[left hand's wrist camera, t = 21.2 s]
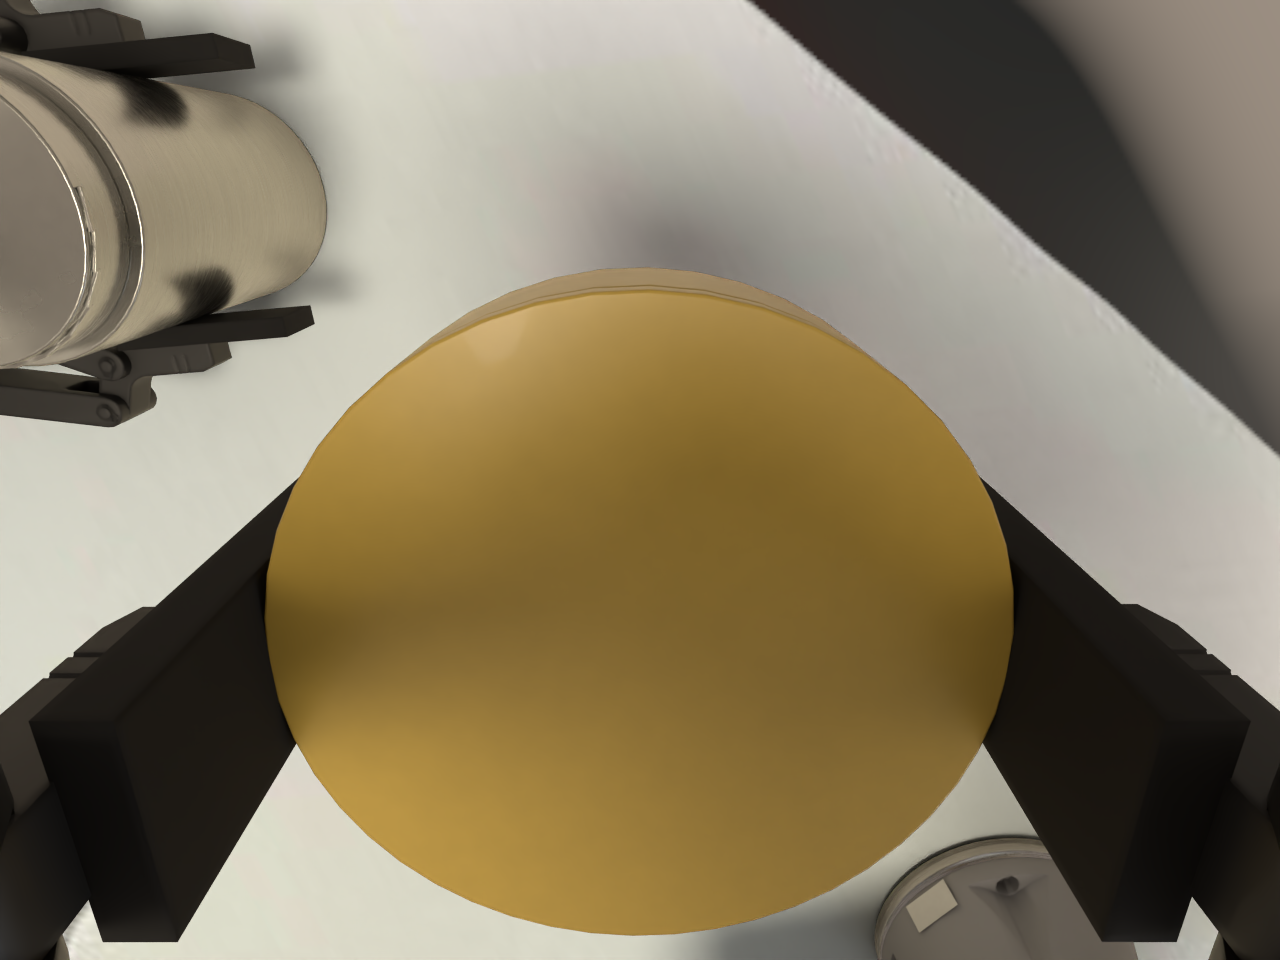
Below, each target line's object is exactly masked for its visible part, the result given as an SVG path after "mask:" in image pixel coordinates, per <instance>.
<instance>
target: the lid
mask: <svg viewBox="0 0 1280 960" xmlns="http://www.w3.org/2000/svg"><path fill="white" fill-rule="evenodd" d="M264 619H265V629H266V640H267V646H268V652H269V657H270V663H271V667H272V672H273V677H274V682H275V687H276V691H277V696H278V701H279V703H280V706H281V708H282V711H283V713H284V716H285V718H286V721H287V723H288V725H289V728H290V730H291V733H292V735H293V738H294V740H295V742H296V743H297V745H298V747H299V748H300V750H301V752H302V754H303V755H304V757H305V759H306V761H307V762H308V764H309V766H310V767H311V769H312V771H313V773H314V774H315V776H316V777H317V778H318V780H319V781H320V782H321V783H322V785H323V786H324V787H325V789H326V790H327V791H328V793H329V794H330V795H331V797H332V798H333V799H334V800H335V802H336V803H337V804H338V806H339V807H340V808H341V809H342V810H343V811H344V812H345V813H346V814H347V815H348V816H349V817H350V818H351V819H352V820H353V821H354V822H355V823H356V824H357V825H358V826H359V827H360V828H361V829H362V830H363V831H364V832H365V833H366V834H367V835H368V836H369V837H370V838H371V839H373V840H374V841H375V842H376V843H378V844H379V845H380V846H381V847H383V848H384V849H385V850H386V851H388V852H389V853H390V854H391V855H393V856H394V857H395V858H396V859H398V860H399V861H400V862H402V863H403V864H405V865H406V866H408V867H409V868H411V869H413V870H414V871H416V872H417V873H419V874H421V875H422V876H424V877H425V878H427V879H428V880H430V881H432V882H433V883H435V884H437V885H439V886H441V887H443V888H445V889H447V890H449V891H451V892H453V893H455V894H457V895H459V896H461V897H463V898H465V899H467V900H469V901H471V902H474V903H477V904H479V905H482V906H485V907H487V908H490V909H493V910H495V911H498V912H501V913H504V914H506V915H509V916H512V917H516V918H520V919H524V920H528V921H531V922H535V923H539V924H543V925H547V926H551V927H557V928H563V929H569V930H576V931H582V932H588V933H599V934H615V935H631V936H636V935H667V934H680V933H688V932H695V931H703V930H711V929H717V928H722V927H726V926H730V925H735V924H739V923H744V922H748V921H752V920H756V919H759V918H762V917H765V916H768V915H771V914H774V913H777V912H780V911H783V910H786V909H789V908H792V907H795V906H797V905H799V904H802V903H804V902H806V901H808V900H811V899H813V898H815V897H817V896H819V895H822V894H824V893H826V892H828V891H830V890H833V889H834V888H836V887H838V886H839V885H841V884H843V883H845V882H846V881H848V880H850V879H851V878H853V877H855V876H856V875H858V874H860V873H862V872H863V871H865V870H867V869H868V868H870V867H871V866H872V865H874V864H875V863H876V862H878V861H879V860H880V859H882V858H883V857H884V856H886V855H887V854H888V853H890V852H891V851H893V850H894V849H895V848H897V847H898V846H899V845H901V844H902V843H903V842H904V841H905V840H906V839H907V838H908V837H909V836H910V835H911V834H912V833H913V832H914V831H915V830H917V829H918V828H919V827H920V826H921V825H922V824H923V823H924V822H925V821H926V820H927V819H928V818H929V817H930V816H931V815H932V814H933V813H934V812H935V810H936V809H937V808H938V807H939V806H940V804H941V803H942V802H943V801H944V800H945V798H946V797H947V796H948V795H949V794H950V792H951V791H952V790H953V789H954V788H955V786H956V785H957V784H958V782H959V781H960V779H961V777H962V776H963V774H964V773H965V771H966V770H967V768H968V766H969V765H970V763H971V762H972V760H973V759H974V757H975V756H976V754H977V752H978V751H979V749H980V746H981V744H982V742H983V740H984V738H985V736H986V734H987V731H988V729H989V727H990V725H991V723H992V721H993V718H994V716H995V714H996V711H997V708H998V704H999V701H1000V698H1001V695H1002V691H1003V686H1004V682H1005V677H1006V673H1007V667H1008V662H1009V656H1010V651H1011V646H1012V640H1013V634H1014V592H1013V583H1012V576H1011V570H1010V564H1009V558H1008V552H1007V546H1006V542H1005V539H1004V536H1003V533H1002V530H1001V527H1000V524H999V521H998V518H997V515H996V512H995V509H994V506H993V503H992V501H991V499H990V497H989V495H988V493H987V491H986V489H985V487H984V485H983V483H982V481H981V479H980V478H979V476H978V474H977V472H976V470H975V468H974V466H973V464H972V462H971V460H970V459H969V457H968V456H967V455H966V453H965V452H964V450H963V449H962V448H961V446H960V445H959V444H958V442H957V441H956V440H955V438H954V437H953V435H952V434H951V433H950V431H949V430H948V429H947V427H946V426H945V424H944V423H943V422H942V420H941V419H940V418H939V417H938V416H937V415H936V414H935V413H934V412H933V411H932V410H931V409H930V408H929V407H928V406H927V405H926V404H925V403H924V402H923V401H922V400H921V399H920V398H919V397H918V396H917V395H916V394H915V393H914V392H913V391H912V390H911V389H910V388H909V387H908V386H907V385H906V384H905V383H903V382H902V381H901V380H900V379H898V378H897V377H896V376H895V375H893V374H892V373H891V372H890V371H888V370H887V369H886V368H884V367H883V366H882V365H881V364H879V363H878V362H877V361H876V360H874V359H873V358H872V357H871V356H869V355H868V354H867V353H866V352H864V351H863V350H862V349H861V348H859V347H858V346H857V345H856V344H854V343H853V342H852V341H850V340H849V339H848V338H846V337H845V336H844V335H842V334H841V333H840V332H838V331H837V330H836V329H834V328H833V327H832V326H830V325H829V324H828V323H826V322H825V321H823V320H822V319H820V318H818V317H816V316H815V315H813V314H811V313H809V312H807V311H805V310H804V309H802V308H800V307H798V306H796V305H795V304H793V303H791V302H789V301H787V300H785V299H784V298H781V297H778V296H776V295H773V294H770V293H768V292H765V291H763V290H760V289H757V288H755V287H752V286H749V285H747V284H744V283H741V282H738V281H734V280H729V279H725V278H721V277H716V276H712V275H707V274H703V273H699V272H694V271H683V270H672V269H661V268H650V267H643V268H620V269H600V270H594V271H589V272H583V273H578V274H572V275H567V276H561V277H556V278H552V279H549V280H546V281H543V282H540V283H537V284H533V285H530V286H527V287H524V288H521V289H518V290H515V291H512V292H509V293H507V294H505V295H503V296H501V297H499V298H497V299H495V300H493V301H491V302H489V303H487V304H485V305H483V306H481V307H479V308H476V309H474V310H472V311H470V312H469V313H467V314H466V315H464V316H463V317H461V318H460V319H458V320H457V321H455V322H454V323H452V324H451V325H449V326H448V327H446V328H445V329H443V330H442V331H440V332H439V333H437V334H436V335H434V336H433V337H432V338H430V339H429V340H428V341H427V342H425V343H424V344H423V345H422V346H420V347H419V348H418V349H417V350H415V351H414V352H413V353H412V354H410V355H409V356H408V357H407V358H405V359H404V360H403V361H402V362H400V363H399V364H398V365H397V366H396V367H394V368H393V369H392V370H390V371H389V372H388V373H387V374H386V375H385V376H383V377H382V378H381V379H380V380H379V381H378V382H377V383H376V384H375V385H374V386H372V387H371V388H370V389H369V390H368V391H367V392H366V393H365V394H364V395H363V396H361V397H360V398H359V399H358V400H357V401H356V402H355V403H354V404H353V405H352V406H350V407H349V408H348V410H347V411H346V412H345V413H344V415H343V416H342V417H341V418H340V419H339V421H338V422H337V423H336V424H335V426H334V427H333V428H332V429H331V430H330V432H329V433H328V434H327V435H326V437H325V438H324V439H323V440H322V442H321V443H320V444H319V445H318V446H317V448H316V450H315V452H314V453H313V455H312V457H311V458H310V460H309V462H308V464H307V465H306V467H305V469H304V470H303V472H302V474H301V475H300V477H299V479H298V481H297V482H296V484H295V486H294V487H293V490H292V492H291V495H290V498H289V500H288V503H287V505H286V508H285V510H284V513H283V515H282V518H281V520H280V523H279V526H278V528H277V531H276V535H275V540H274V545H273V549H272V554H271V558H270V563H269V567H268V572H267V583H266V600H265V617H264Z"/></svg>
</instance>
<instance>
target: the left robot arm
mask: <svg viewBox="0 0 1280 960" xmlns="http://www.w3.org/2000/svg"><path fill="white" fill-rule="evenodd" d="M979 478H980V479H981V481H982V483H983V485H984V487H985V489H986V491H987V493H988V495H989V497H990V499H991V501H992V503H993V506H994V509H995V512H996V515H997V518H998V521H999V524H1000V527H1001V530H1002V533H1003V536H1004V539H1005V542H1006V546H1007V552H1008V558H1009V564H1010V570H1011V576H1012V583H1013V592H1014V634H1013V640H1012V646H1011V651H1010V656H1009V662H1008V667H1007V673H1006V677H1005V682H1004V686H1003V691H1002V695H1001V698H1000V701H999V704H998V708H997V711H996V714H995V716H994V718H993V721H992V723H991V725H990V727H989V729H988V731H987V734H986V736H985V738H984V740H983V742H982V743H983V744H984V746H985V748H986V749H987V751H988V753H989V754H990V756H991V758H992V759H993V761H994V763H995V764H996V766H997V768H998V769H999V771H1000V773H1001V774H1002V776H1003V778H1004V779H1005V781H1006V783H1007V784H1008V786H1009V788H1010V789H1011V791H1012V793H1013V794H1014V796H1015V798H1016V799H1017V801H1018V803H1019V804H1020V806H1021V808H1022V809H1023V811H1024V813H1025V814H1026V816H1027V818H1028V819H1029V821H1030V823H1031V824H1032V826H1033V828H1034V829H1035V831H1036V833H1037V834H1038V836H1039V838H1040V839H1041V840H1035V839H1027V838H1000V839H990V840H984V841H979V842H974V843H970V844H967V845H963V846H960V847H957V848H954V849H952V850H949V851H947V852H944V853H942V854H940V855H938V856H936V857H934V858H932V859H930V860H929V861H927V862H925V863H924V864H922V865H921V866H919V867H918V868H916V869H915V870H914V871H912V872H911V873H910V874H909V875H907V876H906V877H905V878H904V879H903V880H902V881H901V882H900V883H899V884H898V885H897V886H896V887H895V889H894V890H893V891H892V892H891V893H890V895H889V896H888V898H887V899H886V901H885V903H884V905H883V907H882V909H881V910H880V913H879V916H878V919H877V922H876V927H875V936H874V937H875V948H876V953H877V957H878V960H1138V958H1137V954H1136V950H1135V947H1134V943H1133V942H1177V939H1178V936H1179V933H1180V930H1181V927H1182V924H1183V921H1184V918H1185V915H1186V912H1187V909H1188V906H1189V903H1190V900H1191V898H1192V897H1193V898H1194V900H1195V901H1196V902H1197V904H1198V905H1199V906H1200V908H1201V909H1202V910H1203V912H1204V913H1205V914H1206V916H1207V917H1208V918H1209V920H1210V921H1211V922H1212V923H1213V925H1214V926H1215V927H1216V929H1217V930H1218V931H1219V932H1218V935H1217V938H1216V940H1215V943H1214V946H1213V949H1212V951H1211V954H1210V957H1209V960H1280V711H1279V710H1278V709H1277V708H1275V707H1274V706H1273V705H1272V704H1271V703H1269V702H1268V701H1267V700H1266V699H1265V698H1264V697H1262V696H1261V695H1260V694H1259V693H1258V692H1256V691H1255V690H1254V689H1253V688H1252V687H1251V686H1249V685H1248V684H1247V683H1246V682H1245V681H1243V680H1242V679H1241V678H1240V677H1239V676H1237V675H1231V670H1230V669H1229V668H1228V667H1227V666H1226V665H1224V664H1223V663H1222V662H1221V661H1220V660H1219V659H1217V658H1216V657H1215V656H1214V655H1213V654H1207V652H1206V650H1207V649H1206V648H1204V647H1203V646H1202V645H1201V644H1200V643H1198V642H1197V641H1196V640H1195V639H1194V638H1193V637H1191V636H1190V635H1189V634H1188V633H1187V632H1185V631H1184V630H1183V629H1182V628H1181V627H1179V626H1178V625H1177V624H1175V623H1173V622H1171V621H1169V620H1167V619H1165V618H1163V617H1161V616H1159V615H1157V614H1155V613H1154V612H1152V611H1150V610H1148V609H1146V608H1144V607H1142V606H1140V605H1138V604H1120V603H1119V602H1118V601H1117V600H1116V599H1115V598H1114V597H1113V596H1112V595H1110V594H1109V593H1108V592H1107V591H1106V590H1105V589H1104V588H1103V587H1102V586H1100V585H1099V584H1098V583H1097V582H1096V581H1095V580H1094V579H1093V578H1092V577H1090V576H1089V575H1088V574H1087V573H1086V572H1085V571H1084V570H1083V569H1082V568H1081V567H1079V566H1078V565H1077V564H1076V563H1075V562H1074V561H1073V560H1072V559H1071V558H1069V557H1068V556H1067V555H1066V554H1065V553H1064V552H1063V551H1062V550H1061V549H1059V548H1058V547H1057V546H1056V545H1055V544H1054V543H1053V542H1052V541H1051V540H1049V539H1048V538H1047V537H1046V536H1045V535H1044V534H1043V533H1042V532H1041V531H1039V530H1038V529H1037V528H1036V527H1035V526H1034V525H1033V524H1032V523H1031V522H1029V521H1028V520H1027V519H1026V518H1025V517H1024V516H1023V515H1022V514H1021V513H1019V512H1018V511H1017V510H1016V509H1015V508H1014V507H1013V506H1012V505H1011V504H1009V503H1008V502H1007V501H1006V500H1005V499H1004V498H1003V497H1002V496H1001V495H999V494H998V493H997V492H996V491H995V490H994V489H993V488H992V487H991V486H989V485H988V484H987V483H986V482H985V481H984V480H983V479H982V478H981V477H979ZM298 479H299V478H298ZM298 479H297V480H296V481H294V482H293V483H292V484H291V485H290V486H289V487H288V488H287V489H286V490H284V491H283V492H282V493H281V494H280V495H279V496H278V497H277V498H276V499H274V500H273V501H272V502H271V503H270V504H269V505H268V506H267V507H266V508H264V509H263V510H262V511H261V512H260V513H259V514H258V515H257V516H256V517H254V518H253V519H252V520H251V521H250V522H249V523H248V524H247V525H246V526H244V527H243V528H242V529H241V530H240V531H239V532H238V533H237V534H236V535H234V536H233V537H232V538H231V539H230V540H229V541H228V542H227V543H226V544H224V545H223V546H222V547H221V548H220V549H219V550H218V551H217V552H216V553H214V554H213V555H212V556H211V557H210V558H209V559H208V560H207V561H206V562H204V563H203V564H202V565H201V566H200V567H199V568H198V569H197V570H196V571H194V572H193V573H192V574H191V575H190V576H189V577H188V578H187V579H186V580H184V581H183V582H182V583H181V584H180V585H179V586H178V587H177V588H176V589H174V590H173V591H172V592H171V593H170V594H169V595H168V596H167V597H166V598H164V599H163V600H162V601H161V602H160V603H159V604H158V605H157V606H156V607H142V608H140V609H138V610H136V611H134V612H132V613H130V614H128V615H126V616H124V617H122V618H120V619H119V620H117V621H115V622H113V623H111V624H109V625H107V626H105V627H103V628H102V629H101V630H99V631H98V632H97V633H96V634H95V635H94V636H92V637H91V638H90V639H89V640H88V641H86V642H85V643H84V644H83V645H82V646H81V647H79V648H78V649H77V650H76V651H75V652H74V656H73V657H68V658H67V659H65V660H64V661H63V662H62V663H61V664H59V665H58V666H57V667H56V668H55V669H54V670H52V671H51V672H50V673H49V674H50V676H49V678H43V679H42V680H41V681H39V682H38V683H37V684H36V685H35V686H34V687H32V688H31V689H30V690H29V691H28V692H27V693H25V694H24V695H23V696H22V697H21V698H20V699H18V700H17V701H16V702H15V703H14V704H12V705H11V706H10V707H9V708H8V709H7V710H5V711H4V712H3V713H2V714H1V715H0V960H70V958H69V952H68V949H67V946H66V943H65V940H64V938H63V935H62V934H63V933H64V931H65V930H66V929H67V927H68V926H69V925H70V923H71V922H72V921H73V919H74V918H75V917H76V915H77V914H78V913H79V911H80V910H81V909H82V907H83V906H84V905H85V903H86V902H87V901H88V900H89V902H90V905H91V908H92V911H93V914H94V917H95V920H96V923H97V926H98V929H99V932H100V935H101V938H102V941H103V942H178V940H179V939H180V937H181V935H182V934H183V932H184V930H185V929H186V927H187V925H188V924H189V922H190V920H191V919H192V917H193V915H194V914H195V912H196V910H197V909H198V907H199V905H200V904H201V902H202V900H203V899H204V897H205V895H206V894H207V892H208V890H209V889H210V887H211V885H212V884H213V882H214V880H215V879H216V877H217V875H218V874H219V872H220V870H221V869H222V867H223V865H224V864H225V862H226V860H227V859H228V857H229V855H230V854H231V852H232V850H233V849H234V847H235V845H236V843H237V842H238V840H239V838H240V837H241V835H242V833H243V832H244V830H245V828H246V827H247V825H248V823H249V822H250V820H251V818H252V817H253V815H254V813H255V812H256V810H257V808H258V807H259V805H260V803H261V802H262V800H263V798H264V797H265V795H266V793H267V792H268V790H269V788H270V787H271V785H272V783H273V782H274V780H275V778H276V777H277V775H278V773H279V772H280V770H281V768H282V767H283V765H284V763H285V762H286V760H287V758H288V757H289V755H290V753H291V752H292V750H293V748H294V747H295V745H296V742H295V740H294V738H293V735H292V733H291V730H290V728H289V725H288V723H287V721H286V718H285V716H284V713H283V711H282V708H281V706H280V703H279V701H278V696H277V691H276V687H275V682H274V677H273V672H272V667H271V663H270V657H269V652H268V646H267V640H266V629H265V619H264V617H265V600H266V583H267V572H268V567H269V563H270V558H271V554H272V549H273V545H274V540H275V535H276V531H277V528H278V526H279V523H280V520H281V518H282V515H283V513H284V510H285V508H286V505H287V503H288V500H289V498H290V495H291V492H292V490H293V487H294V486H295V484H296V482H297V481H298Z"/></svg>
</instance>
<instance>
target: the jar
mask: <svg viewBox="0 0 1280 960" xmlns="http://www.w3.org/2000/svg"><path fill="white" fill-rule="evenodd" d="M325 226H326V201H325V193H324V189H323V185H322V181H321V178H320V175H319V173H318V170H317V168H316V165H315V163H314V161H313V159H312V157H311V156H310V154H309V152H308V151H307V149H306V148H305V146H304V145H303V143H302V142H301V140H300V139H299V138H298V137H297V136H296V134H295V133H294V132H293V131H292V130H291V129H290V128H289V127H288V126H287V125H286V124H285V123H284V122H283V121H282V120H281V119H279V118H278V117H277V116H275V115H274V114H273V113H271V112H270V111H269V110H267V109H265V108H263V107H262V106H260V105H258V104H256V103H254V102H252V101H249V100H247V99H245V98H242V97H238V96H235V95H231V94H226V93H221V92H215V91H210V90H205V89H199V88H194V87H188V86H183V85H178V84H172V83H167V82H161V81H156V80H151V79H145V78H140V77H134V76H129V75H124V74H118V73H113V72H107V71H102V70H96V69H91V68H86V67H80V66H75V65H69V64H64V63H59V62H53V61H48V60H42V59H37V58H32V57H26V56H21V55H15V54H10V53H5V52H0V369H6V368H14V369H15V368H19V367H22V366H45V365H53V364H60V363H63V362H67V361H70V360H74V359H77V358H80V357H83V356H86V355H89V354H92V353H95V352H98V351H101V350H104V349H107V348H110V347H113V346H116V345H119V344H122V343H125V342H128V341H131V340H134V339H137V338H140V337H143V336H146V335H149V334H152V333H155V332H158V331H161V330H163V329H166V328H169V327H172V326H175V325H178V324H181V323H184V322H187V321H190V320H193V319H196V318H199V317H202V316H205V315H208V314H211V313H214V312H217V311H220V310H223V309H226V308H229V307H232V306H235V305H238V304H241V303H244V302H247V301H250V300H253V299H256V298H259V297H262V296H265V295H268V294H271V293H274V292H276V291H279V290H281V289H283V288H285V287H287V286H288V285H290V284H292V283H293V282H295V281H296V280H297V279H298V278H299V277H300V276H301V275H303V274H304V273H305V271H306V270H307V269H308V268H309V266H310V265H311V264H312V262H313V261H314V259H315V257H316V256H317V254H318V251H319V249H320V246H321V244H322V240H323V237H324V233H325Z"/></svg>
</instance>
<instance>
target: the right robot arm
mask: <svg viewBox="0 0 1280 960" xmlns="http://www.w3.org/2000/svg"><path fill="white" fill-rule="evenodd" d="M0 52H5V53H10V54H15V55H21V56H26V57H32V58H37V59H42V60H48V61H53V62H59V63H64V64H69V65H75V66H80V67H86V68H91V69H96V70H102V71H107V72H113V73H118V74H124V75H129V76H134V77H140V78H145V79H148V78H159V77H169V76H179V75H190V74H200V73H210V72H221V71H231V70H241V69H251V68H255V65H254V60H253V56H252V52H251V47H250V45H248V44H245V43H242V42H239V41H236V40H233V39H230V38H227V37H224V36H221V35H217V34H214V33H207V34H197V35H187V36H177V37H166V38H156V39H146V40H145V36H144V32H143V29H142V25H141V21H139V20H136V19H133V18H130V17H127V16H124V15H120V14H117V13H114V12H110V11H107V10H104V9H100V8H97V9H87V10H77V11H67V12H57V13H46V14H39V13H38V12H37V10H36V9H35V8H34V6H33V5H32V3H31V2H30V0H0ZM314 324H315V323H314V319H313V315H312V311H311V306H310V305H309V306H298V307H286V308H275V309H263V310H252V311H240V312H228V313H217V314H208V315H205V316H202V317H199V318H196V319H193V320H190V321H187V322H184V323H181V324H178V325H175V326H172V327H169V328H166V329H163V330H161V331H158V332H155V333H152V334H149V335H146V336H143V337H140V338H137V339H134V340H131V341H128V342H125V343H122V344H119V345H116V346H113V347H110V348H107V349H104V350H101V351H98V352H95V353H92V354H89V355H86V356H83V357H80V358H77V359H74V360H70V361H67V362H63V363H60V364H59V365H62V366H65V367H68V368H71V369H74V370H77V371H80V372H83V373H85V374H88V375H91V376H94V377H89V376H80V375H72V374H63V373H55V372H46V371H38V370H29V369H21V368H15V369H14V368H6V369H0V415H6V416H15V417H23V418H32V419H41V420H50V421H58V422H67V423H76V424H84V425H93V426H102V427H115V426H117V425H119V424H121V423H123V422H125V421H127V420H130V419H132V418H134V417H136V416H138V415H140V414H142V413H144V412H146V411H148V410H150V409H151V408H153V407H154V406H155V404H156V401H157V397H156V394H155V392H154V391H153V389H152V388H151V380H152V377H153V376H157V375H168V374H178V373H189V372H190V373H192V372H204V371H206V370H208V369H210V368H212V367H214V366H217V365H219V364H221V363H223V362H225V361H226V360H228V359H230V358H232V356H231V353H230V349H229V345H228V342H233V341H244V340H256V339H268V338H280V337H288V336H290V335H292V334H294V333H297V332H299V331H301V330H303V329H305V328H307V327H309V326H311V325H314Z"/></svg>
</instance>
